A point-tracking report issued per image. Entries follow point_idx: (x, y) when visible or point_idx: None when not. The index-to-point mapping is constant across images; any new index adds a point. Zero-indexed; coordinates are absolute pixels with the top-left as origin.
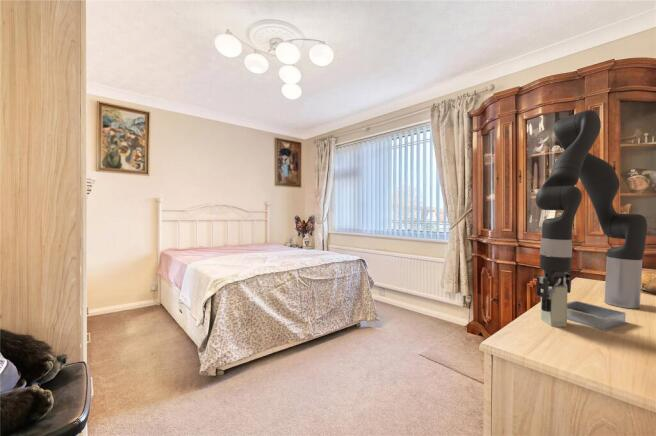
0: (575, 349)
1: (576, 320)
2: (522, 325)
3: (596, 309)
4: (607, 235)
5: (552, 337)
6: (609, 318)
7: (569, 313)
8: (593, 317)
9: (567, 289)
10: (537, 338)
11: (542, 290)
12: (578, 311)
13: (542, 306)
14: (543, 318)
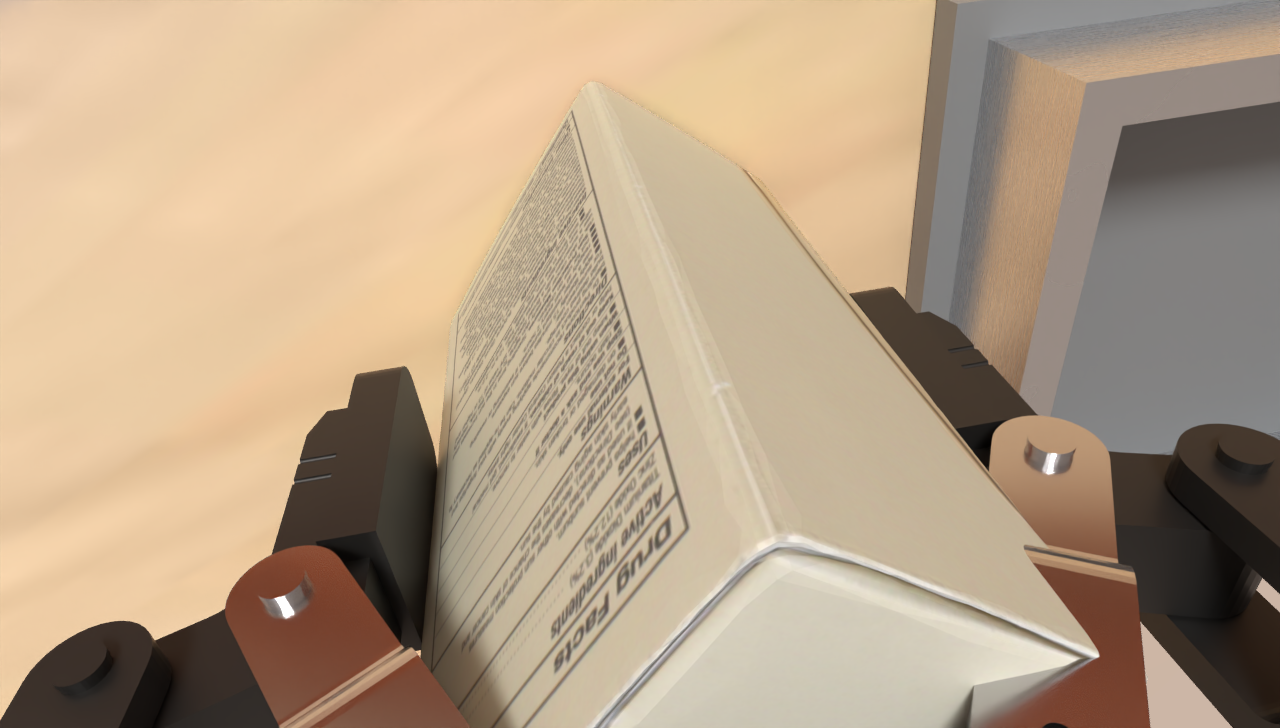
0: None
1: (955, 316)
2: (100, 131)
3: None
4: None
5: (230, 485)
6: None
7: (1003, 275)
8: None
9: (1163, 633)
10: (4, 475)
11: (281, 717)
12: (1051, 384)
13: (305, 462)
14: (541, 188)
